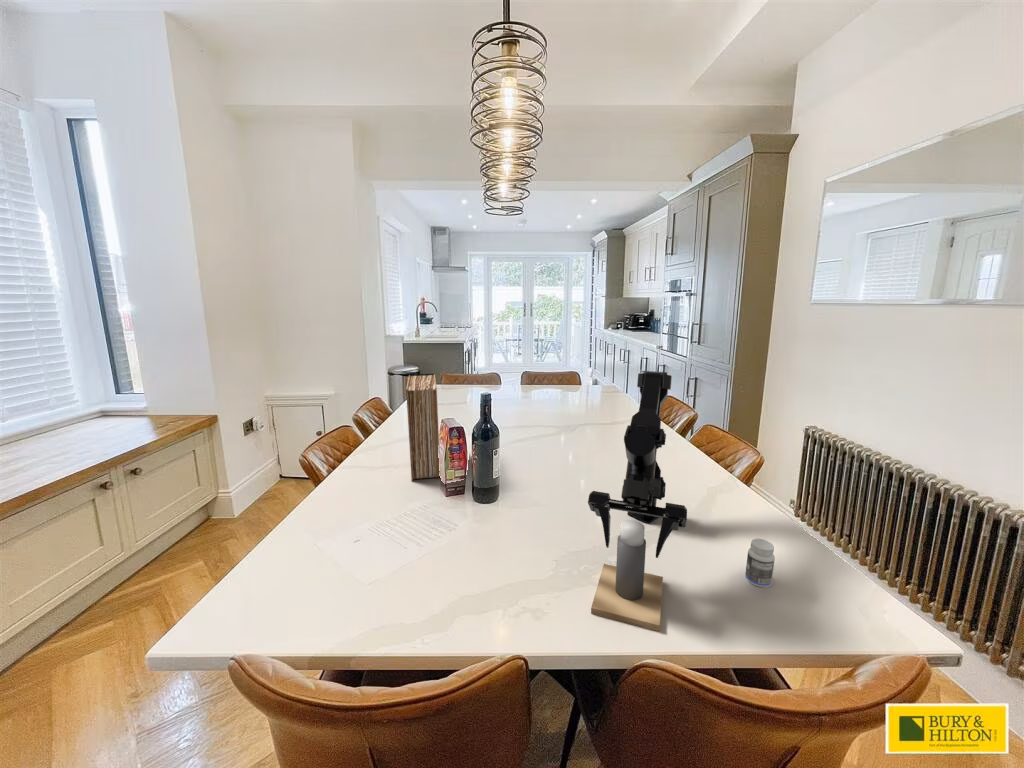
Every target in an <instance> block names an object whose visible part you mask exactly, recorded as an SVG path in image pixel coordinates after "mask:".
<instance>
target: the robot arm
mask: <svg viewBox="0 0 1024 768" xmlns="http://www.w3.org/2000/svg"><path fill="white" fill-rule="evenodd" d="M672 378H673V377H672V375H670V374H668V372H667V371H651V370H644V371H643V372H642V373H641V372H639V373H638V374H637V386H636V387H637V388H639V392H640V397H641V398H640V400H639V401H640V402H639V409H638V412H636V413H635V414H634V415H632V417H631V421H630V425H629V424H628V425H627V427H626V430H625V433H624V435H623V436H624V437H623V443H624V448H625V455H626V459H627V464H626V472H625V478H624V479H623V485H622V488H621V497H620V498H621V499H622V500H618V499H612V498H611V496H610V493H609V492H605V491H604V492H603V491H598V490H592V491H591V492H590V493H589V495H588V500H587V504H588V507H589V509H590V511H592V512H593V513H595V516H596V517H598V518H599V517H600V519H601V523H602V528H603V534H604V535H603V536H604V542H605V547H606V548H607V549H609V548H610V540H611V513H610V511H611V510H617V511H622V512H627V515H628V516H629V517H632V518H635V519H637V520H639V521H641V522H644V523H646V524H650V523H652V522H653V521H655V520H657V518H662V521H661V525H660V531H659V534H658V539H657V544H656V548H655V549H656V550H655V558H656V559H659V556H660V554H661V552H662V550H663V547H664V545H665V543H666V540H667V539H668V537H669V536H670V534H671V533H672V532H673V531H678V530H679V528H686V525H687V524H686V523H687V519H688V509H687V507H686V506H685V505H684V504H676V503H673V502H672V503H670V502H665V507H661V506H657V500H660V501H662V499H664V498H665V497H666V496H665V495H666V482H665V480H664V477H663V476H662V470H661V467H660V466H659V464H658V461H657V451H658V449H659V448H660V449H661V448H662V447H663V446H665V445H666V440H667V434H666V433H665V430H664V428H661V427H662V426H661V425H662V423H661V422H662V418H661V406H662V404H663V403H664V402H665V400H667V398H668V395H669V391H670V390H672Z"/></svg>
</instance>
